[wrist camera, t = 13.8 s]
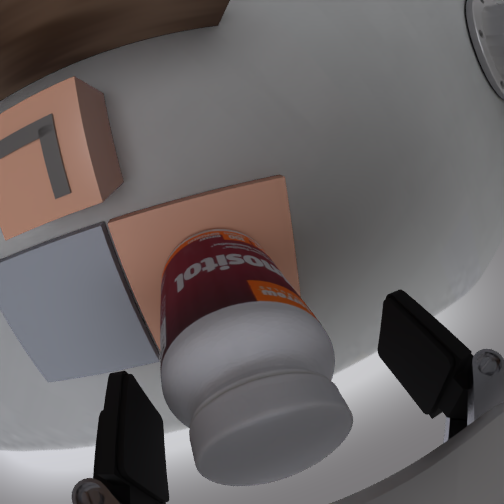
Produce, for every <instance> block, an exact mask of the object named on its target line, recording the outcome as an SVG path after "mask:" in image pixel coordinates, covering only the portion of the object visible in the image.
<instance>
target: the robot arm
mask: <svg viewBox="0 0 504 504" xmlns="http://www.w3.org/2000/svg"><path fill="white" fill-rule="evenodd" d="M466 17H467V23H468V28H469V32H470V36H471V39H472V42H473V46H474V49H475V51H476V54H477V57H478V60H479V62H480V64H481V66H482V69H483V71H484V73H485V75H486V77H487V79H488V81H489V82H490V84H491V86H492V87H493V89H494V90H495V91H496V92H497V94H498V95H499V96H500V97H501V98H502V99H504V4H497V3H496V2H495V1H494V0H467V3H466ZM378 354H379V356H380V358H381V359H382V360H383V362H384V363H385V364H386V365H387V367H388V368H389V369H390V370H391V371H392V373H393V374H394V375H395V377H396V378H397V379H398V380H399V382H400V383H401V384H402V386H403V387H404V388H405V389H406V390H407V392H408V393H409V395H410V396H411V397H412V398H413V400H414V401H415V402H416V404H417V405H418V406H419V408H420V409H421V410H422V411H423V413H425V414H429V415H430V417H431V418H432V419H433V418H434V417H436V416H437V415H438V414H440V413H442V412H443V413H444V414H445V415H446V424H445V434H444V442H443V444H442V445H440V446H439V447H438V448H436V449H435V450H433V451H432V452H430V453H429V454H427V455H426V456H424V457H422V458H421V459H419V460H418V461H416V462H414V463H413V464H411V465H409V466H407V467H406V468H404V469H402V470H400V471H399V472H397V473H395V474H393V475H391V476H389V477H388V478H386V479H384V480H382V481H380V482H378V483H376V484H374V485H372V486H370V487H368V488H366V489H363V490H361V491H359V492H357V493H355V494H352V495H350V496H348V497H345V498H343V499H340V500H338V501H335V502H333V503H330V504H504V359H503V357H502V356H501V355H500V354H499V353H498V352H496V351H494V350H491V349H482V350H480V351H478V352H477V353H476V354H475V355H474V356H473V355H472V354H471V351H470V350H469V349H468V348H467V347H466V346H465V345H464V344H463V343H462V342H461V341H459V340H458V338H456V337H455V336H454V335H453V334H452V333H451V332H450V331H449V330H448V329H447V328H446V327H444V326H443V325H442V324H441V323H440V322H439V321H438V320H437V319H435V318H434V317H433V316H432V315H431V314H430V313H429V312H428V311H426V310H425V309H424V308H423V307H422V306H421V305H420V304H418V303H417V302H416V301H415V300H414V299H413V298H411V297H410V296H409V295H408V294H407V293H405V292H404V291H403V290H398V291H395V292H393V293H390V294H388V295H387V296H386V300H384V302H383V311H382V320H381V328H380V336H379V343H378ZM168 501H169V491H168V482H167V472H166V460H165V446H164V429H163V420H162V417H161V415H160V414H159V413H158V411H157V410H156V408H155V407H154V406H153V404H152V403H151V401H150V400H149V399H148V397H147V396H146V394H145V393H144V391H143V390H142V388H141V387H140V385H139V384H138V382H137V381H136V379H135V378H134V376H133V375H132V374H128V373H127V372H126V371H121V372H115V373H110V374H109V378H108V384H107V390H106V396H105V403H104V410H103V411H101V413H100V416H99V422H98V430H97V439H96V450H95V460H94V476H93V478H87V479H83V480H82V481H79V482H78V483H77V484H76V485H75V487H74V489H73V491H72V502H73V504H166V502H168Z"/></svg>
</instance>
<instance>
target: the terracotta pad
mask: <svg viewBox="0 0 504 504" xmlns="http://www.w3.org/2000/svg"><path fill="white" fill-rule="evenodd" d="M108 226H109V229H110V232H111V235H112V238H113V241H114V244H115V247H116V249H117V252H118V255H119V258H120V260H121V263H122V265H123V268H124V271H125V273H126V276H127V278H128V281H129V283H130V286H131V288H132V290H133V293H134V295H135V298H136V300H137V302H138V305H139V307H140V309H141V311H142V314H143V316H144V318H145V320H146V322H147V325H148V327H149V329H150V331H151V333H152V335H153V337H154V339H155V342H156V344H157V346H158V348H159V350H160V306H161V280H162V274H163V270H164V266H165V264H166V261H167V260H168V258H169V256H170V255H171V253H172V252H173V251H174V249H175V248H176V247H177V246H178V245H179V244H180V243H182V242H183V241H184V240H186V239H187V238H189V237H191V236H193V235H195V234H197V233H200V232H203V231H206V230H212V229H228V230H233V231H237V232H240V233H243V234H245V235H247V236H249V237H250V238H252V239H253V240H254V241H256V242H257V243H258V244H259V245H260V246H261V247H262V248H263V249H264V251H265V252H266V253H267V255H268V256H269V257H270V258H271V260H272V261H273V262H274V264H275V265H276V266H277V268H278V269H279V270H280V271H281V273H282V274H283V275H284V277H285V278H286V279H287V281H288V282H289V283H290V284H291V286H292V287H293V288H294V290H295V291H296V292H297V294H298V295H299V296H300V287H299V278H298V270H297V261H296V253H295V246H294V238H293V230H292V223H291V216H290V209H289V202H288V195H287V188H286V182H285V177H284V176H282V175H276V176H271V177H267V178H262V179H258V180H253V181H249V182H244V183H240V184H236V185H232V186H227V187H223V188H219V189H215V190H211V191H207V192H203V193H200V194H196V195H192V196H188V197H184V198H181V199H177V200H173V201H170V202H166V203H163V204H159V205H156V206H152V207H149V208H146V209H142V210H139V211H136V212H132V213H129V214H126V215H123V216H119V217H116V218H113V219H110V221H109V222H108ZM300 298H301V296H300Z"/></svg>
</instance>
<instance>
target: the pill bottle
mask: <svg viewBox="0 0 504 504" xmlns="http://www.w3.org/2000/svg"><path fill="white" fill-rule="evenodd" d="M160 363H161V382H162V390H163V395H164V398H165V401H166V403H167V405H168V407H169V408H170V410H171V411H172V413H173V414H174V415H175V416H176V417H177V418H178V419H179V420H180V421H181V422H182V423H183V424H184V425H186V426H187V427H189V428H190V431H189V433H190V434H189V435H190V442H191V447H192V452H193V456H194V461H195V465H196V467H197V470H198V471H199V473H200V474H201V475H202V476H203V477H205V478H207V479H209V480H211V481H212V482H215V483H219V484H223V485H230V486H250V485H259V484H265V483H270V482H274V481H278V480H281V479H284V478H287V477H289V476H292V475H295V474H297V473H299V472H302V471H304V470H305V469H307V468H309V467H311V466H313V465H315V464H317V463H318V462H320V461H321V460H323V459H324V458H325V457H327V456H328V455H329V454H330V453H332V452H333V451H334V450H335V449H336V448H337V447H338V446H339V445H340V444H341V443H342V442H343V441H344V440H345V438H346V437H347V435H348V434H349V432H350V430H351V427H352V424H353V416H352V413H351V411H350V409H349V407H348V406H347V404H346V402H345V400H344V399H343V397H342V396H341V394H340V392H339V390H338V388H337V387H336V385H335V384H334V383H333V382H331V379H332V377H333V373H334V366H335V357H334V350H333V346H332V343H331V340H330V338H329V336H328V334H327V333H326V331H325V330H324V328H323V327H322V325H321V323H320V322H319V321H318V320H317V318H316V317H315V316H314V314H313V313H312V312H311V310H310V309H309V308H308V306H307V305H306V304H305V303H304V301H303V300H302V299H301V298H300V296H299V295H298V294H297V292H296V291H295V290H294V288H293V287H292V286H291V284H290V283H289V282H288V281H287V279H286V278H285V277H284V275H283V274H282V273H281V271H280V270H279V269H278V268H277V266H276V265H275V264H274V262H273V261H272V260H271V258H270V257H269V256H268V255H267V253H266V252H265V251H264V249H263V248H262V247H261V246H260V245H259V244H258V243H257V242H256V241H254V240H253V239H252V238H250V237H249V236H247V235H245V234H243V233H240V232H237V231H233V230H228V229H212V230H206V231H203V232H200V233H197V234H195V235H193V236H191V237H189V238H187V239H186V240H184V241H183V242H182V243H180V244H179V245H178V246H177V247H176V248H175V249H174V251H173V252H172V253H171V255H170V256H169V258H168V260H167V261H166V264H165V266H164V270H163V274H162V280H161V306H160Z"/></svg>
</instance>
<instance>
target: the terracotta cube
mask: <svg viewBox="0 0 504 504" xmlns="http://www.w3.org/2000/svg"><path fill="white" fill-rule="evenodd" d="M123 182H124V181H123V177H122V173H121V170H120V166H119V162H118V158H117V154H116V150H115V146H114V142H113V137H112V133H111V129H110V124H109V119H108V114H107V110H106V105H105V99H104V94H103V93H102V92H100V91H99V90H97V89H95V88H94V87H92V86H90V85H88V84H87V83H85V82H83V81H82V80H80V79H78V78H76V77H75V76H73V77H71V78H69V79H66V80H64V81H62V82H60V83H57V84H55V85H53V86H51V87H49V88H47V89H45V90H43V91H41V92H39V93H37V94H35V95H33V96H31V97H29V98H27V99H25V100H24V101H22V102H20V103H18V104H16V105H15V106H13V107H11V108H9V109H8V110H6V111H4V112H3V113H1V114H0V227H1V230H2V232H3V235H4V238H5V240H8V239H10V238H12V237H15V236H17V235H19V234H22V233H24V232H26V231H29V230H31V229H33V228H36V227H38V226H41V225H43V224H45V223H48V222H50V221H53V220H56V219H58V218H61V217H63V216H66V215H69V214H71V213H74V212H77V211H79V210H82V209H85V208H88V207H90V206H93V205H96V204H99V203H102V202H104V201H105V200H106V199H107V198H108V197H109V196H110V195H111V194H112V193H113V192H114V191H115V190H116V189H117V188H118V187H119V186H120V185H121V184H122V183H123Z"/></svg>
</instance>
